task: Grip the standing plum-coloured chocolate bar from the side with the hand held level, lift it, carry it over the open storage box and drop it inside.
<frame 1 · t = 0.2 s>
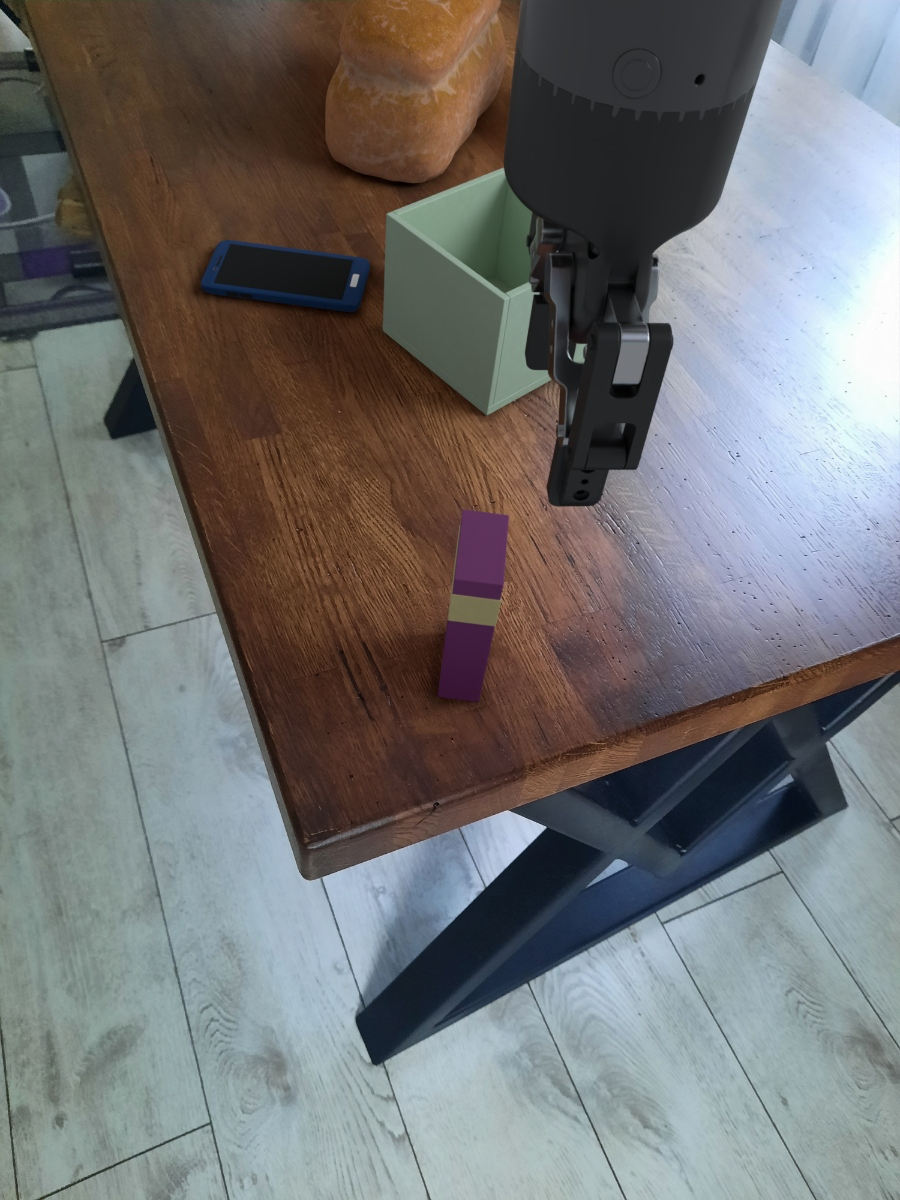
hand: (558, 428, 41), 22 cm above the table, tool pointing down, fingers open, 8 cm apart
bread: (418, 127, 101), on the table
open storage box: (490, 342, 80), on the table
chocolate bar: (461, 666, 59), on the table
cell phone: (287, 280, 82), on the table
vase: (636, 152, 102), on the table
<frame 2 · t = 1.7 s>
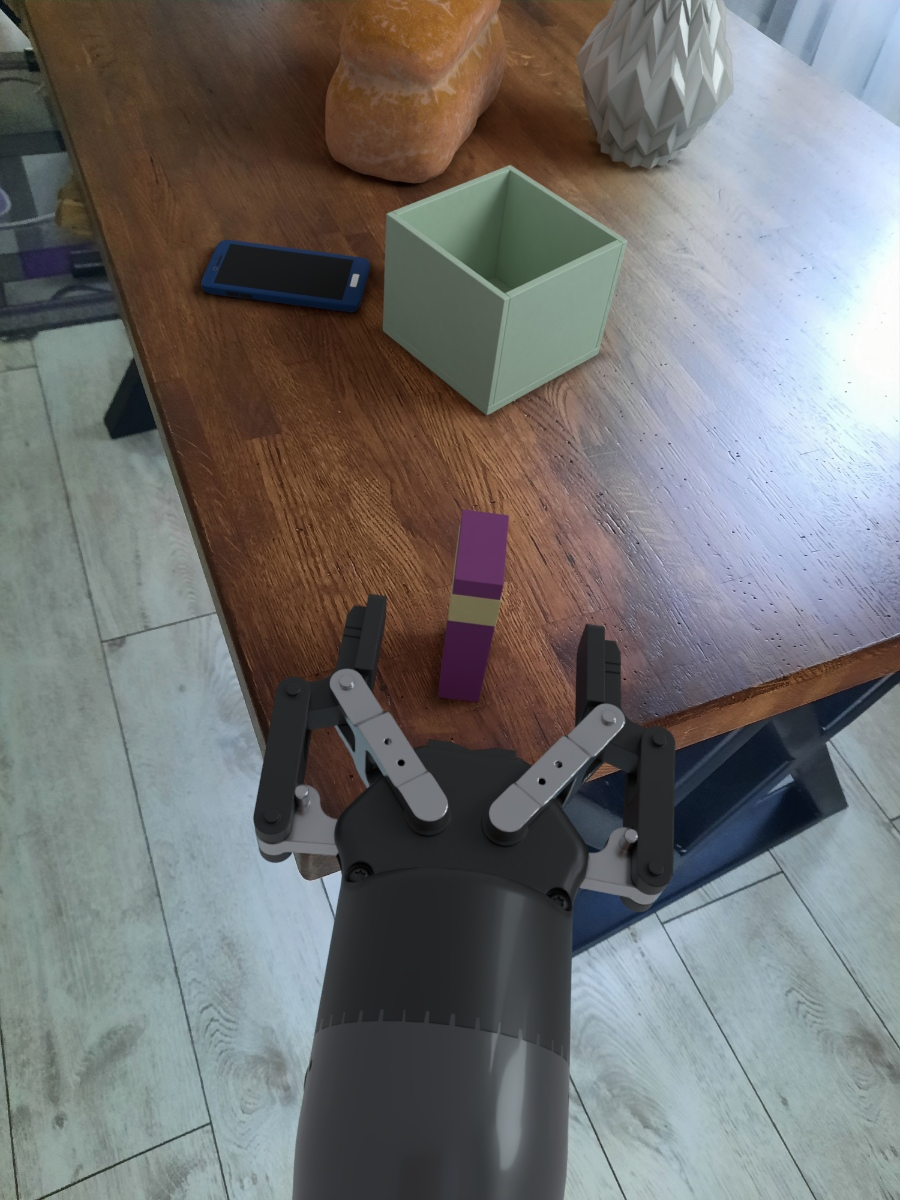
hand: (483, 621, 37), 20 cm above the table, tool horizontal, fingers open, 8 cm apart
nothing on the table moved.
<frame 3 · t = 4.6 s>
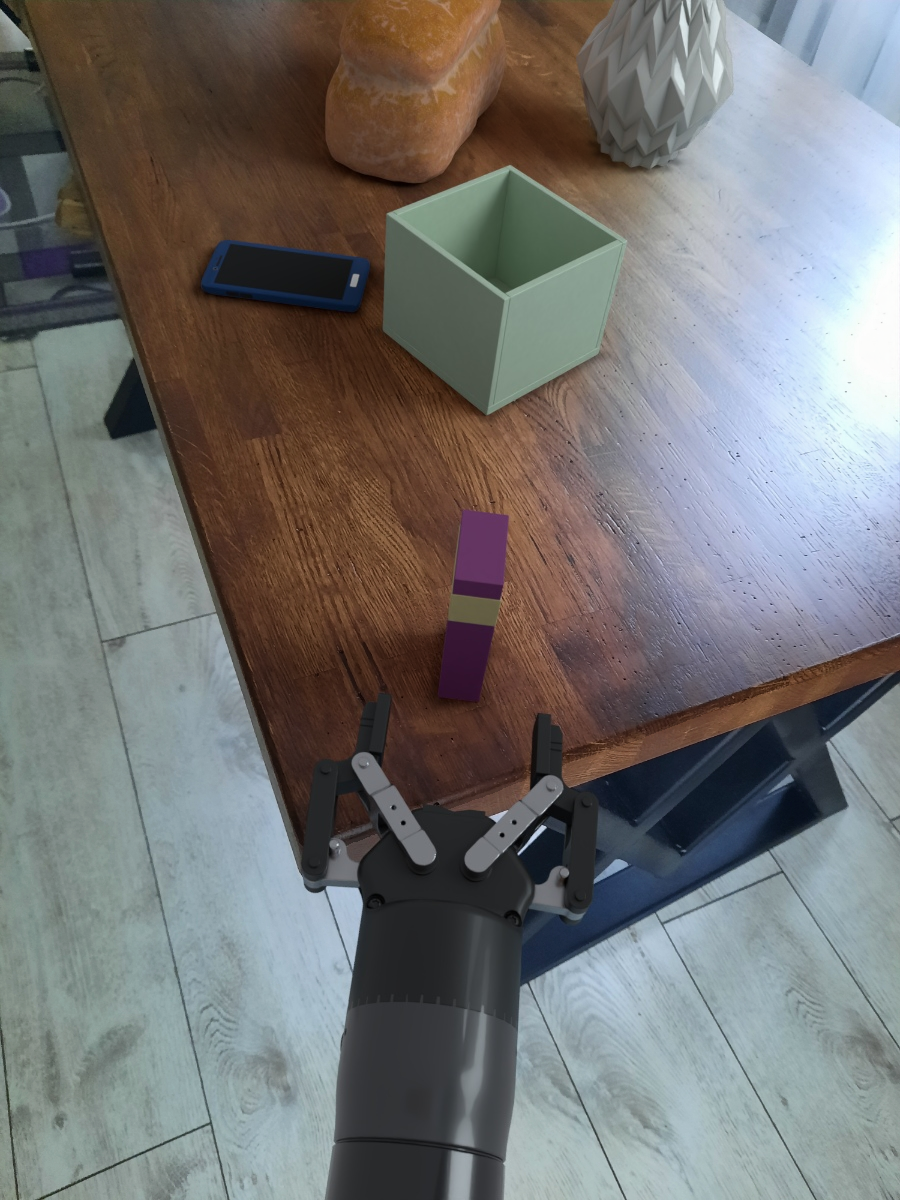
hand: (463, 710, 50), 7 cm above the table, tool horizontal, fingers open, 8 cm apart
nothing on the table moved.
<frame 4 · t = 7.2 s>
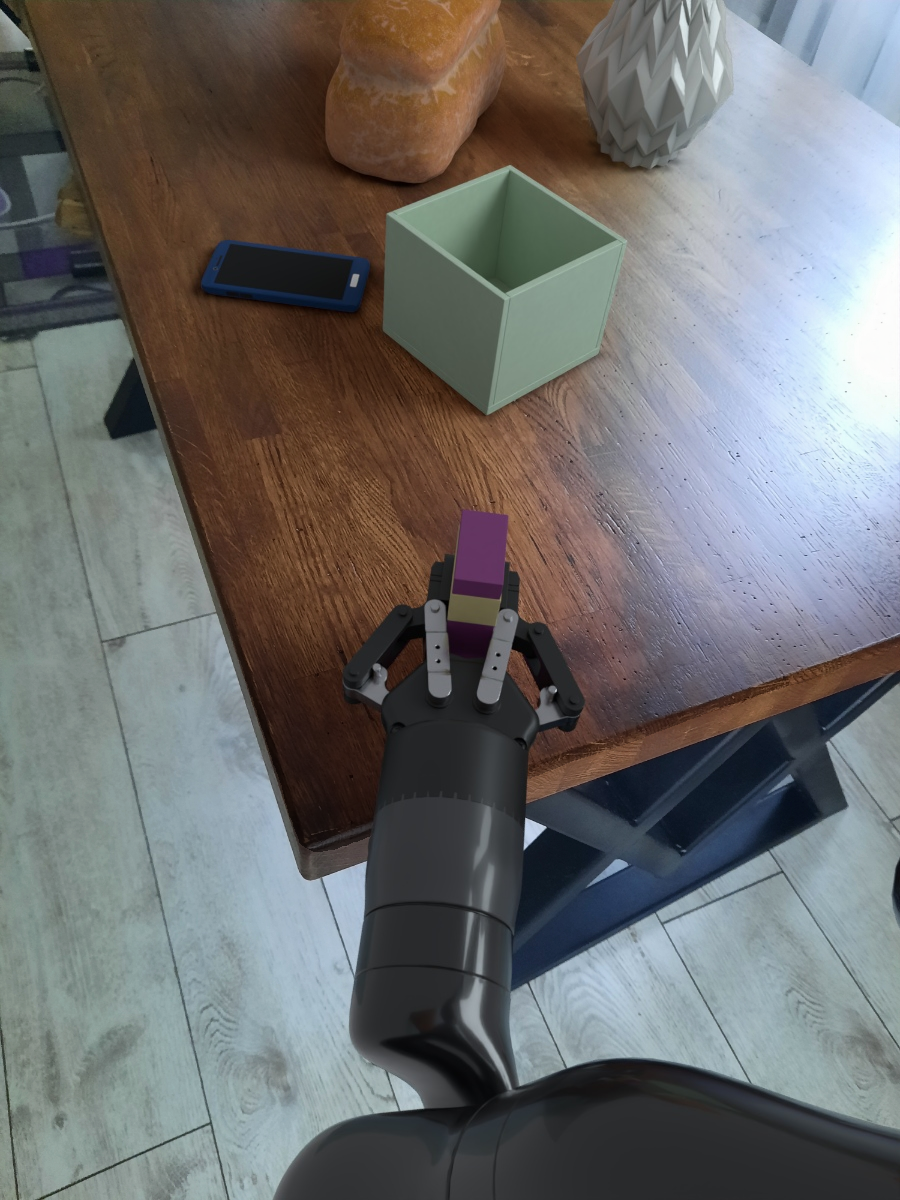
hand: (475, 567, 56), 7 cm above the table, tool horizontal, fingers closed on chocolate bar, 2 cm apart
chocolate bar: (461, 666, 59), on the table, touching gripper
everything else where it was.
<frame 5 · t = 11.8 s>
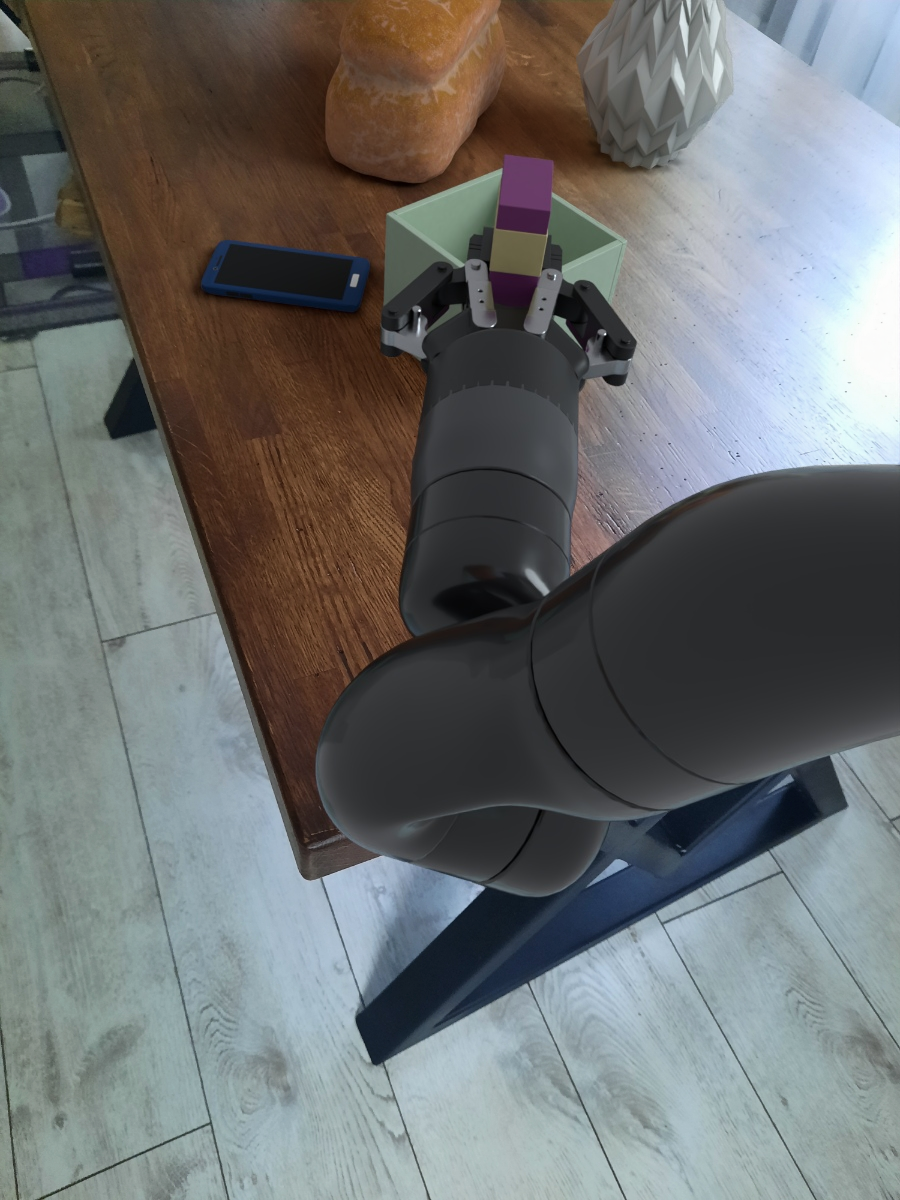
hand: (514, 245, 53), 20 cm above the table, tool horizontal, fingers closed on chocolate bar, 2 cm apart
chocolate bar: (498, 369, 57), point 13 cm above the table, touching gripper
everything else where it was.
when the fingers open (16 cm above the table, at t = 16.7 s): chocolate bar drops 9 cm, resting on open storage box.
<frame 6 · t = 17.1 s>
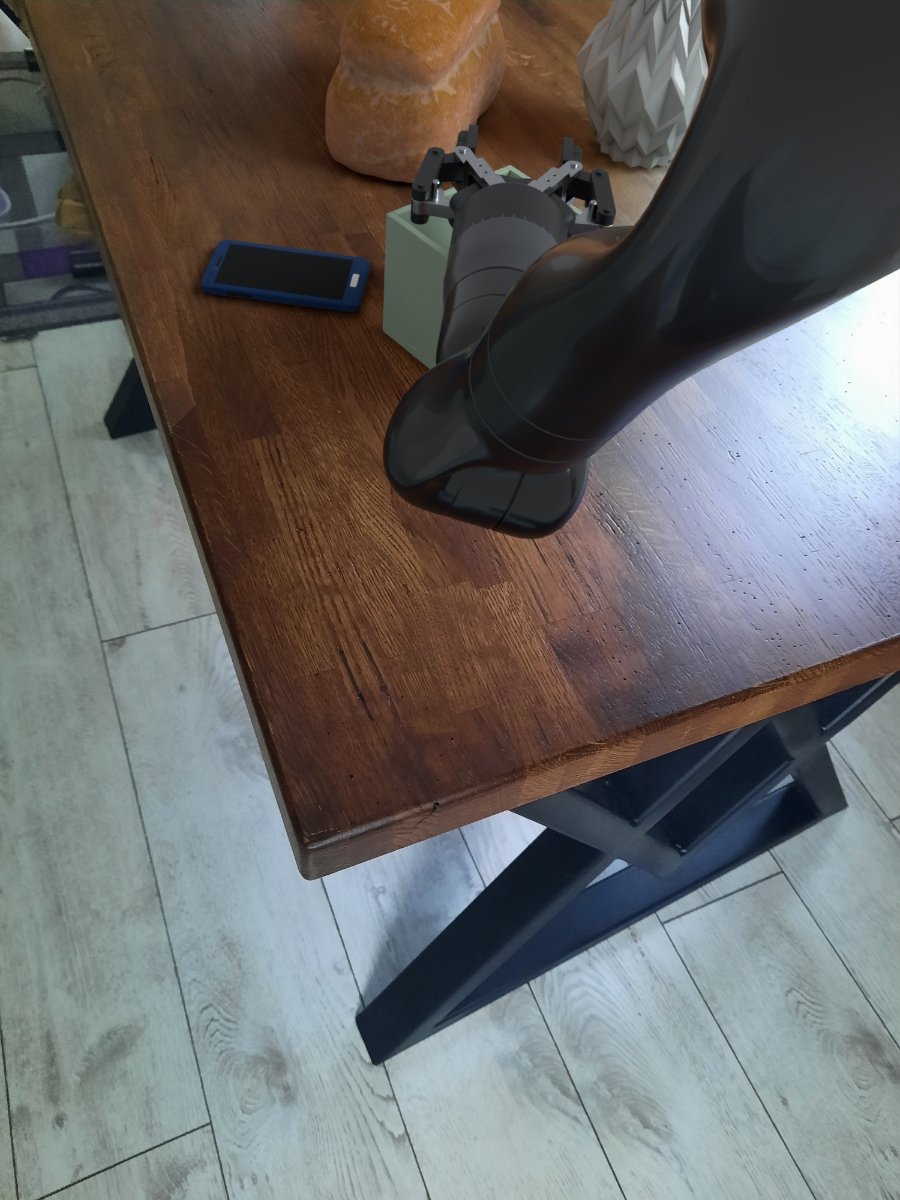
hand: (519, 143, 68), 16 cm above the table, tool horizontal, fingers open, 6 cm apart
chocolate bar: (493, 335, 79), point 1 cm above the table, touching open storage box
everything else where it was.
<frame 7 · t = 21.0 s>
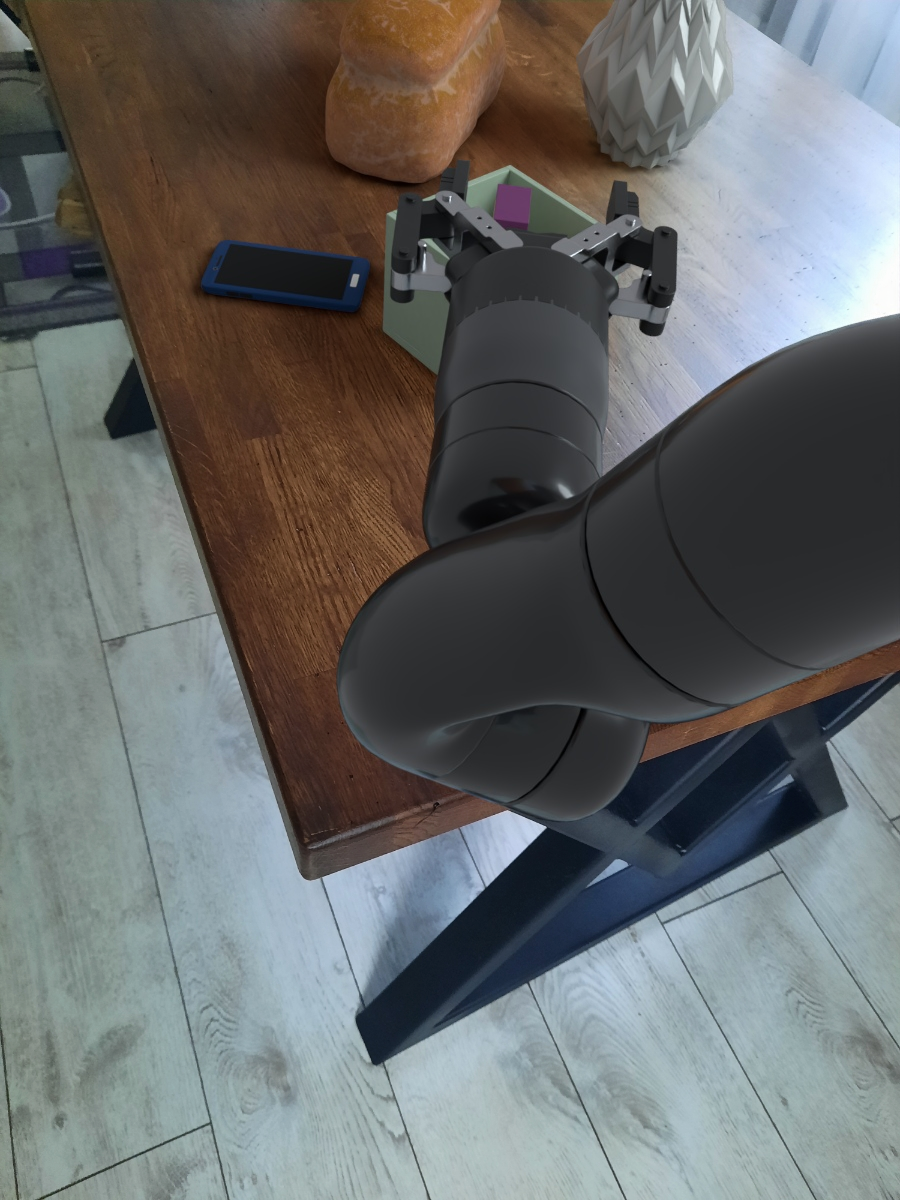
hand: (539, 186, 51), 23 cm above the table, tool horizontal, fingers open, 8 cm apart
nothing on the table moved.
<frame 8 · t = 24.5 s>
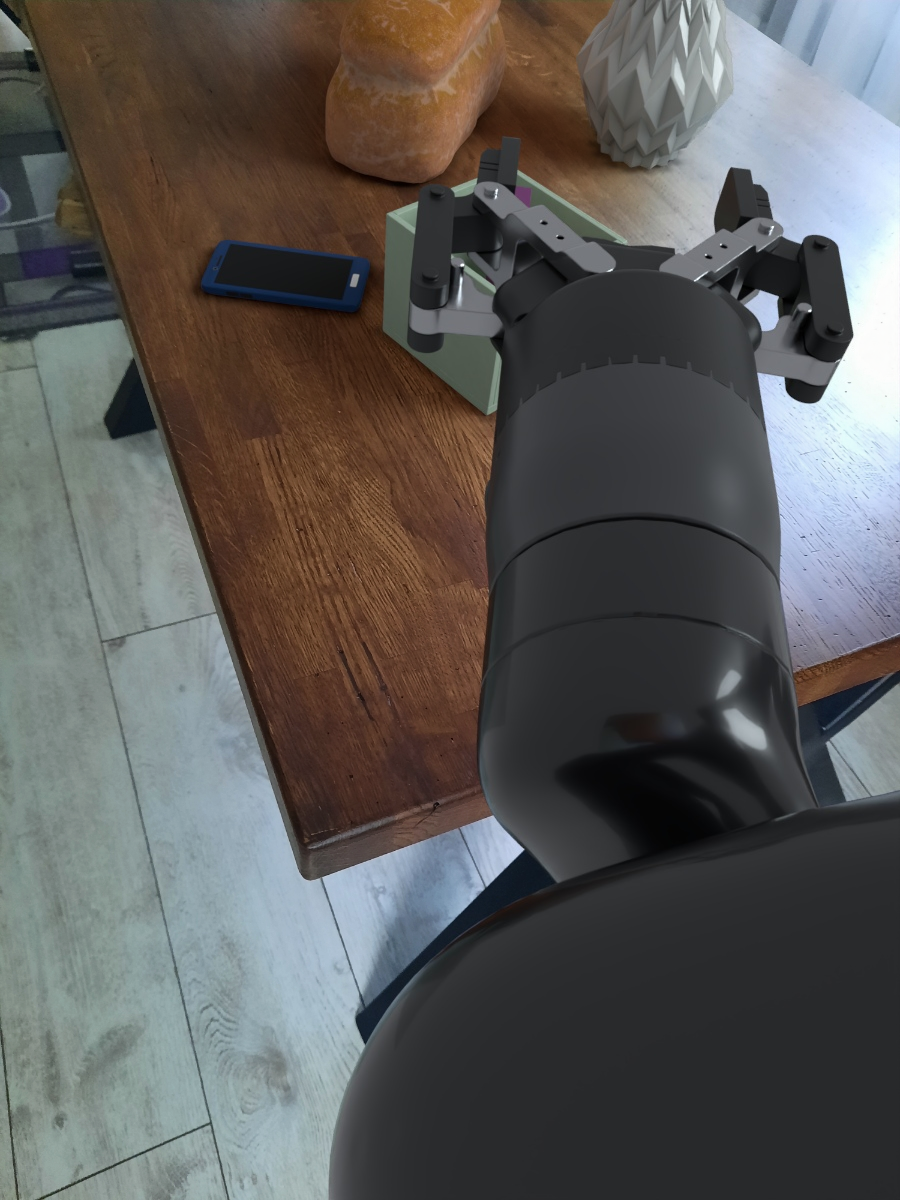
hand: (618, 176, 35), 32 cm above the table, tool horizontal, fingers open, 8 cm apart
nothing on the table moved.
at the end: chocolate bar inside the target area in the open storage box (0.1 cm from its centre), point 0.8 cm above the open storage box's base; the gripper is holding nothing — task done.
